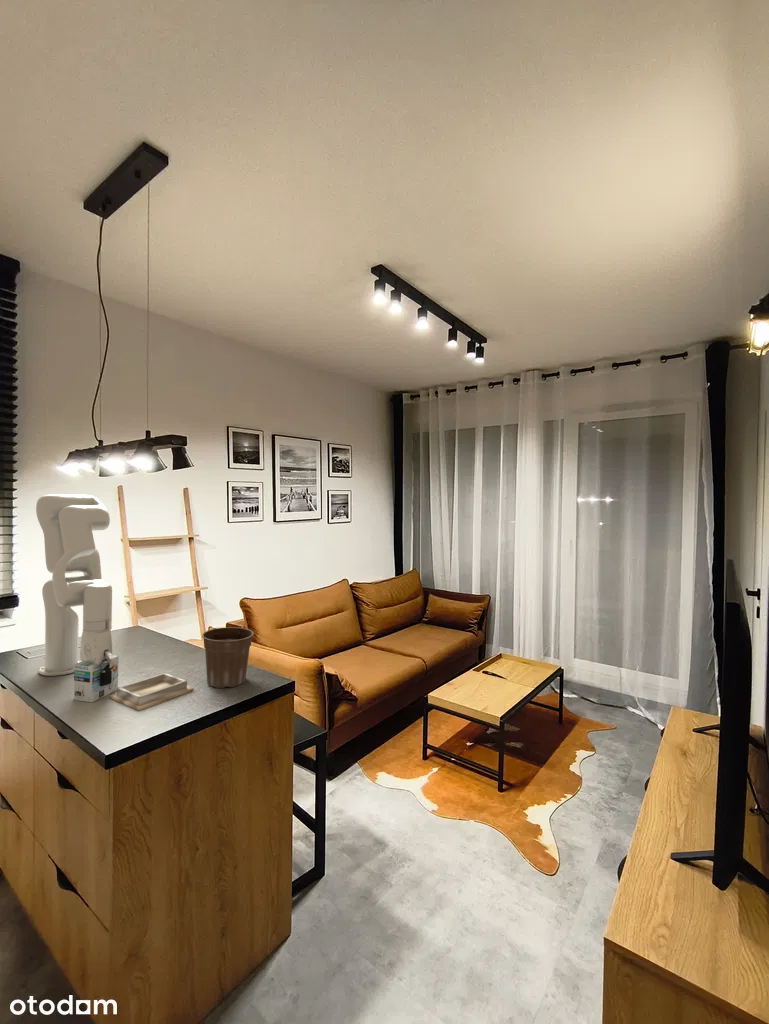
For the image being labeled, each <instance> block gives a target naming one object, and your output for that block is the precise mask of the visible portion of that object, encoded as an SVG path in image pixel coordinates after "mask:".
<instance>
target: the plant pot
mask: <svg viewBox="0 0 769 1024" xmlns="http://www.w3.org/2000/svg"><path fill="white" fill-rule="evenodd" d="M201 636H202V639H203V648H204V650H205V667H206V668H205V669H206V683H207V685H208V686H210V687H212V688H218V689H224V688H226V687H228V688H235V687H239V686H241V685H242V684H244V683H245V682H246V678H247V671H248V665H249V663H248V662H249V655H250V654H249V653H250V647H251V646H252V639H253V636H254V631H253V630H251V629H250V628H246V627H237V626H236V627H235V626H234V627H231V626H229V627H217V628H213V629H209V630H206V631H204V632H203V633H202V634H201Z"/></svg>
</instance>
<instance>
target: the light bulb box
mask: <svg viewBox="0 0 769 1024" xmlns="http://www.w3.org/2000/svg"><path fill="white" fill-rule="evenodd" d="M112 656H113V657H114V658H115V662H114V667H113V670H112V682H111V684H108V685H104V686H100V673H101V669H100V667H99V665H98V666H95V665H93V664H90V663H88V662H86V661H81V662H79V663H76V664H74V672H73V700H74V701H78V702H79V701H80V702H87V703H93V702H96V701H98V700H100V699H101V698H104V697H106V696H108V695H111V694H112V693H114V692H117V688H118V687H119V658H120V657H119V655H113V654H112ZM105 661H106V660H105ZM102 662H104V661H102ZM106 665H107V664H105V665H103V666H104V668H105V666H106Z"/></svg>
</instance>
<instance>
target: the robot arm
mask: <svg viewBox="0 0 769 1024" xmlns="http://www.w3.org/2000/svg"><path fill="white" fill-rule="evenodd" d="M35 513H36V517H37V521H38V524H39V525H40V526H39V527H40V528H41V529H42V533H43V538H44V554H45V556H44V558H45V565H46V569H47V571H48V572H49V573H51V574H52V578H51V579H50V580H49V579H48V580H47V581H46V582H45V583H44V584H43V585H42V589H41V590H42V591H41V592H42V600H43V605H44V615H45V616H44V617H45V618H44V620H45V623H44V624H45V625H44V631H45V632H44V665H43V666H40V668H39V670H38V673H39V674H40V675H41V676H50V677H53V676H54V677H56V676H57V677H58V676H64V675H68V674H72V673H73V674H74V664H76V663H79V662H82V661H86V662H88V663H90V664H93V665H95V666H98V665H99V667H100V669H101V673H100V686H104V685H108V684H111V682H112V670H113V667H114V662H115V658H114V657H113V656H112V655H113V639H112V638H113V637H112V631H111V630H112V627H113V625H112V624H113V623H112V622H113V615H112V614H113V588H112V585H111V584H110V583H107V582H106V581H105V580H103V579H102V570H101V569H102V566H101V558H100V557H101V556H100V553H99V550H98V549H97V548H96V544H95V539H94V534H93V533H94V531H105V530H107V529H108V528H109V526H110V522H111V518H110V513H109V511H108V509H107V508H106V506H105V505H104V504H103V503H102V502H101V501H100V500H99V499H98V498H97V497H95V496H93V495H89V494H65V493H64V494H63V493H62V494H61V493H59V494H57V493H56V494H55V493H53V494H45V495H43V496H41V497H40V498H38V499H37V501H36V508H35ZM74 573H76V574H77V573H82V574H83V575H79V576H66V574H74ZM81 606H82V633H81V639H80V647H79V630H80V629H79V628H80V627H79V625H80V624H79V619H80V618H79V616H78V615H79V614H78V613H77V612H76V611H75V610H74V609H72V608H73V607H81ZM79 648H80V649H79ZM79 650H80V652H79ZM79 655H80V656H79ZM105 660H106V661H105ZM102 661H104V662H102ZM105 664H107V665H106V666H105V668H104V666H103V665H105Z"/></svg>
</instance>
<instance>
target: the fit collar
mask: <svg viewBox="0 0 769 1024" xmlns="http://www.w3.org/2000/svg"><path fill="white" fill-rule="evenodd" d="M194 689H195V688H194V687H192V686H190V685H188V680H185V679H183V678H179V677H177V676H174V675H171V674H168V673H166V672H163V673H160V674H157V675H154V676H151V677H148V678H144V679H142V680H137V681H135V682H132V683H128V684H125V685H122V686H118V688H117V690H116V692H115V693H113V694H112V693H111V694H109V698H110V699H112V700H114V701H116V702H119V703H121V704H123V705H124V706H128V707H130V708H133V710H136V711H142V710H144V709H146V708H149V707H152V706H156V705H158V704H161V703H163V702H166V701H168V700H171V699H172V700H173V698H177V697H180V696H182V695H185V694H188V693H191V692H193V691H194Z"/></svg>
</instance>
